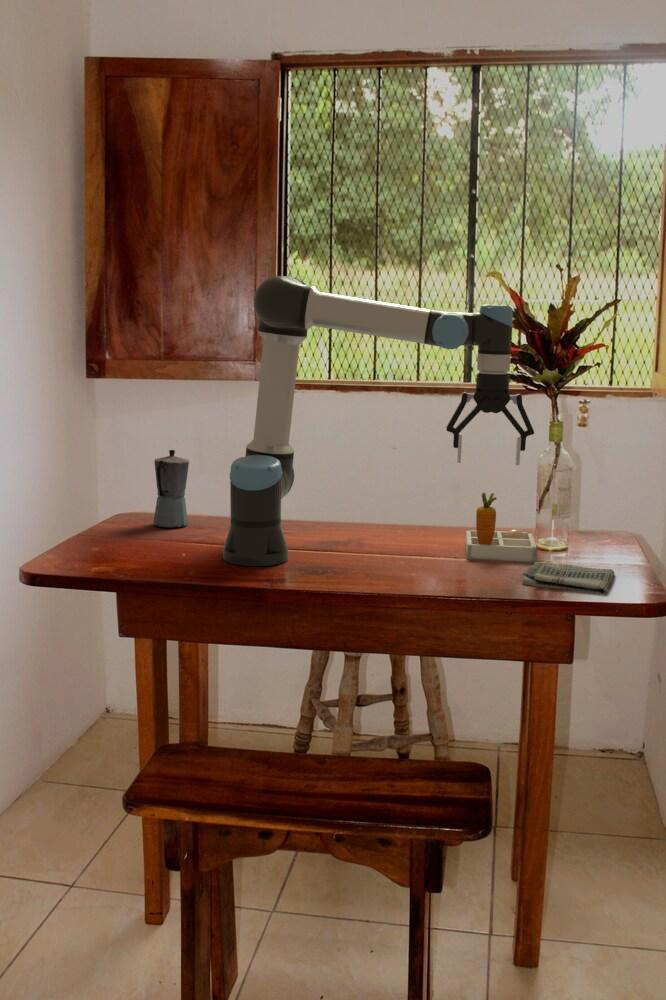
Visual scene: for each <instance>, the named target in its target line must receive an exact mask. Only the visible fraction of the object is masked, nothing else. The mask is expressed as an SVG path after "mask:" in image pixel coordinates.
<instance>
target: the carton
mask: <svg viewBox="0 0 666 1000" xmlns="http://www.w3.org/2000/svg"><path fill="white" fill-rule="evenodd" d="M476 532H477V529H466V530H465V551H466V560H470V561H471V560H473V561H493V562H494V561H495V562H499V561H500V562H520V563H535V562H537V545H536V541H535V539H534V536H533V533H532V532H530V531H529V532H526V531H521V532H522V533H523V534H524V539H510V538H505V537H506V534H507V533H508V532H509V531H504V530H503V531H502V530H495V531H494V536H493V540H492V543H491V545H480V544H479V542H478V537H475V533H476Z"/></svg>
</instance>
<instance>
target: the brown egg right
mask: <svg viewBox="0 0 666 1000" xmlns="http://www.w3.org/2000/svg"><path fill="white" fill-rule="evenodd" d="M507 532H508V533H507V534H506V537H505V538H510V539H524V534H523V533H522V532H523V531H521V530H520V529H517V528H513V529H510V530H509V531H507Z"/></svg>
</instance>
